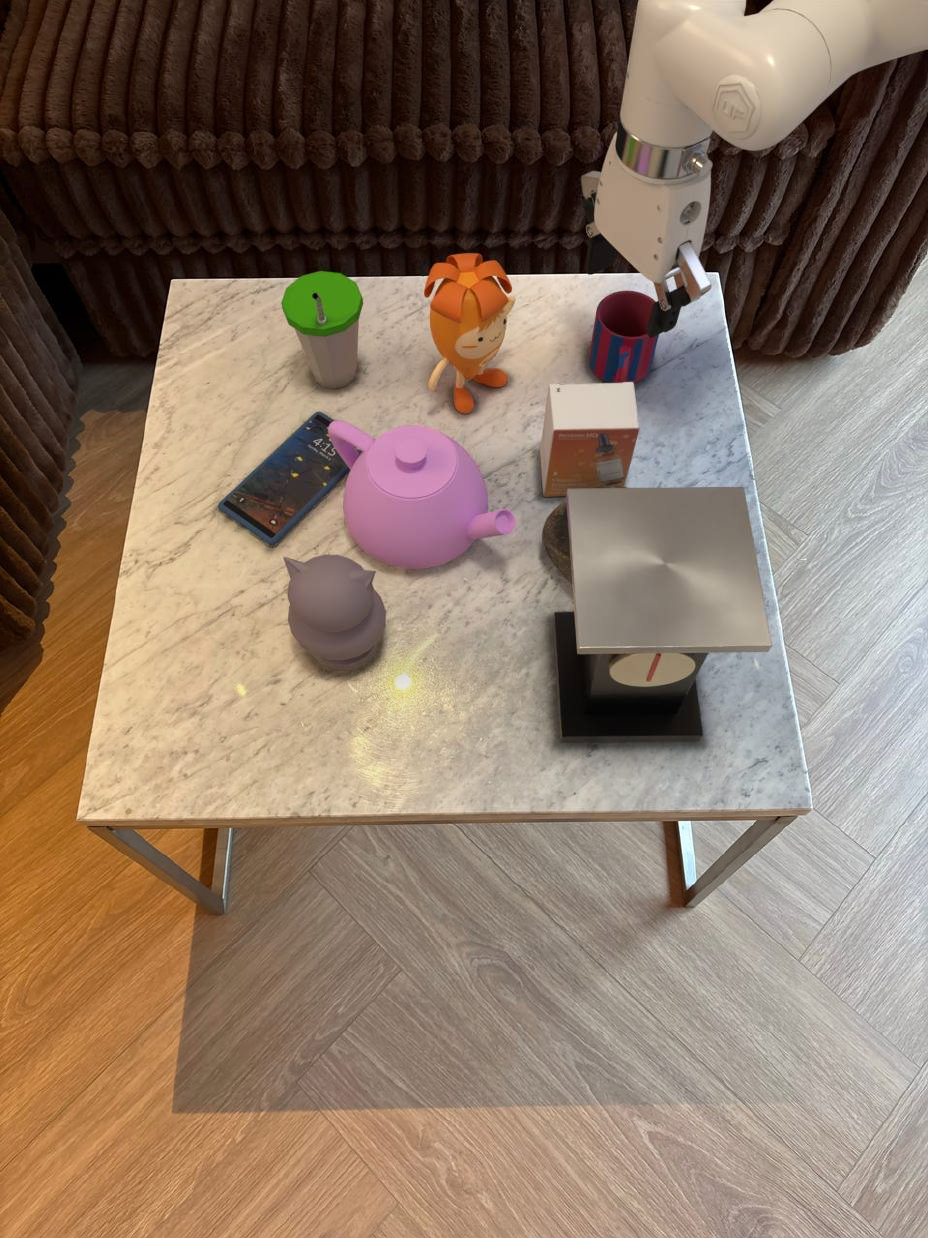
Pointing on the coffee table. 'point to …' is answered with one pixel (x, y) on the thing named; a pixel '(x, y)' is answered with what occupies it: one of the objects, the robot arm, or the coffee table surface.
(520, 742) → the coffee table surface
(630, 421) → the small box
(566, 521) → the stone
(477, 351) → the toy figure
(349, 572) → the cat figurine
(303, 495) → the smartphone
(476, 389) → the coffee table surface
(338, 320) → the cup
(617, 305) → the cup
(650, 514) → the scale
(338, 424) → the teapot
